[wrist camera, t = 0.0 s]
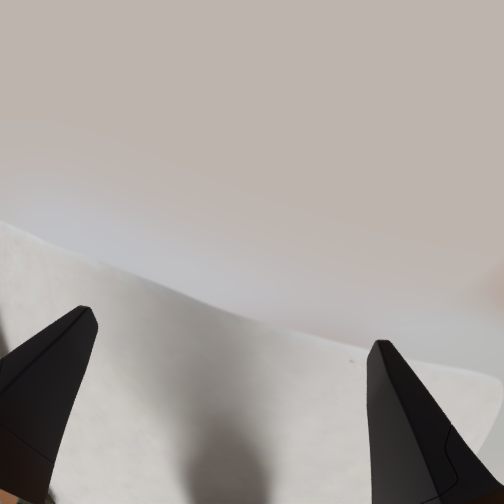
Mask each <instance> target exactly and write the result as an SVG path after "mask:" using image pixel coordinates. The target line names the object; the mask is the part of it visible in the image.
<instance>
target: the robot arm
mask: <svg viewBox="0 0 504 504" xmlns="http://www.w3.org/2000/svg"><path fill="white" fill-rule="evenodd" d="M97 332H98V323H97V321H96V318H95V316H94V314H93V311H92V309H91V308H90V307H87V306H82V305H80V306H78V307H76V308H74V309H73V310H71V311H70V312H68V313H67V314H65V315H64V316H62V317H61V318H59V319H58V320H56V321H55V322H53V323H52V324H51V325H49V326H48V327H46V328H45V329H43V330H42V331H40V332H39V333H37V334H36V335H34V336H33V337H32V338H30V339H29V340H27V341H26V342H24V343H23V344H21V345H20V346H19V347H17V348H16V349H14V350H13V351H12V352H10V353H9V354H7V355H6V356H5V357H4V358H2V359H0V504H21V503H20V502H19V498H20V499H23V500H25V501H27V502H30V503H32V504H45V502H46V497H47V493H48V488H49V484H50V480H51V476H52V472H53V469H54V465H55V464H54V463H55V461H56V457H57V454H58V450H59V447H60V443H61V440H62V437H63V434H64V431H65V427H66V424H67V421H68V418H69V415H70V412H71V409H72V407H73V404H74V401H75V398H76V395H77V393H78V390H79V387H80V384H81V382H82V379H83V377H84V374H85V371H86V368H87V365H88V362H89V359H90V355H91V352H92V348H93V345H94V342H95V338H96V335H97ZM367 417H368V429H369V443H370V459H371V485H372V504H504V485H502V484H501V483H499V482H498V481H497V480H496V479H495V478H494V477H493V475H492V474H491V473H490V472H489V471H488V469H487V468H486V467H485V466H484V465H483V463H481V461H480V460H479V459H478V458H477V456H476V455H475V454H474V453H473V451H472V450H471V449H470V448H469V447H468V445H467V444H466V443H465V441H464V440H463V439H462V437H461V436H460V434H459V433H458V432H457V430H456V429H455V427H454V426H453V425H452V424H451V422H450V420H449V419H448V418H447V416H446V415H445V413H444V412H443V411H442V409H441V408H440V406H439V405H438V404H437V402H436V401H435V400H434V398H433V397H432V395H431V394H430V393H429V391H428V390H427V389H426V387H425V386H424V385H423V383H422V382H421V381H420V379H419V378H418V377H417V375H416V374H415V373H414V371H413V370H412V369H411V367H410V366H409V365H408V364H407V362H406V361H405V360H404V358H403V357H402V356H401V354H400V353H399V352H398V351H397V349H396V348H395V347H394V345H393V344H392V343H391V342H390V341H389V340H377V341H375V343H374V345H373V347H372V349H371V351H370V353H369V355H368V358H367Z"/></svg>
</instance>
